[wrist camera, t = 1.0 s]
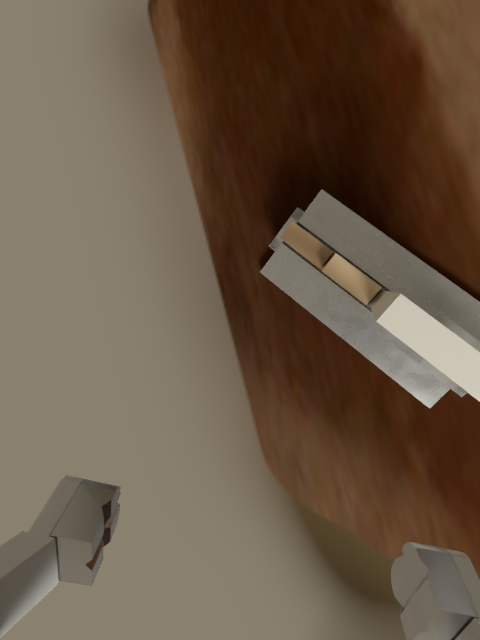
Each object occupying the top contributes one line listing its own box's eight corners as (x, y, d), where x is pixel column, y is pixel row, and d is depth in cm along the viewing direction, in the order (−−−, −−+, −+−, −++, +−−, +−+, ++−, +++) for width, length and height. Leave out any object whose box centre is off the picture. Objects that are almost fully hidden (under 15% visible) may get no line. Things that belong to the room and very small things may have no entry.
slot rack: (322, 192, 43) (317, 179, 38) (508, 325, 38) (531, 331, 33) (263, 272, 46) (250, 270, 41) (427, 404, 41) (436, 421, 36)
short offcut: (304, 232, 43) (292, 221, 35) (338, 257, 42) (333, 251, 34) (294, 246, 43) (279, 237, 36) (327, 271, 42) (319, 268, 35)
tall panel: (380, 289, 41) (400, 293, 20) (441, 335, 39) (531, 391, 18) (368, 303, 41) (376, 321, 20) (427, 348, 40) (501, 418, 19)
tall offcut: (341, 260, 42) (335, 252, 32) (377, 287, 41) (381, 287, 31) (330, 274, 42) (321, 270, 33) (365, 300, 41) (366, 305, 32)
